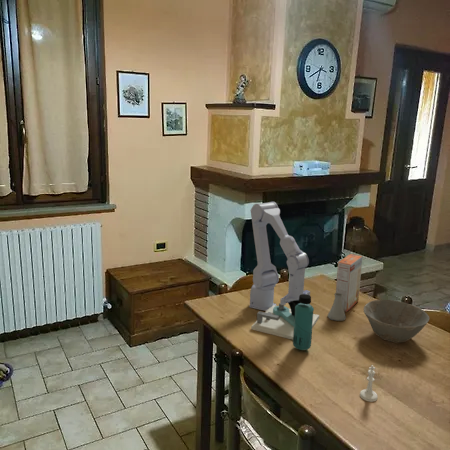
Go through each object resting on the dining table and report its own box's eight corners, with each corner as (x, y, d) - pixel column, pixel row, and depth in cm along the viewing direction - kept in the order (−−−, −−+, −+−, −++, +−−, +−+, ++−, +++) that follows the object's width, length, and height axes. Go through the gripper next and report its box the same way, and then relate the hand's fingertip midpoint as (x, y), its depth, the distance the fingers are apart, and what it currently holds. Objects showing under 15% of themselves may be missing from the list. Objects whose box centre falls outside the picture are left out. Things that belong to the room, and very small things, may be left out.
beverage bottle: (312, 346, 155) (316, 293, 150) (309, 356, 149) (313, 300, 144) (293, 343, 157) (297, 290, 152) (290, 352, 151) (293, 297, 146)
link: (270, 310, 179) (271, 307, 178) (283, 308, 181) (284, 304, 180) (292, 329, 163) (292, 325, 163) (306, 326, 166) (306, 323, 165)
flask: (344, 314, 181) (346, 291, 178) (347, 322, 174) (349, 298, 171) (326, 312, 181) (328, 290, 179) (328, 320, 174) (330, 297, 172)
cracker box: (345, 297, 196) (349, 253, 191) (358, 301, 193) (363, 255, 188) (333, 308, 185) (337, 261, 180) (347, 312, 182) (351, 264, 177)
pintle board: (251, 329, 166) (251, 316, 165) (272, 307, 185) (272, 295, 184) (302, 342, 157) (303, 328, 156) (319, 317, 177) (320, 305, 175)
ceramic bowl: (426, 330, 169) (429, 306, 166) (424, 359, 148) (428, 332, 146) (365, 318, 177) (368, 294, 175) (356, 344, 157) (359, 318, 155)
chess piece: (357, 391, 130) (360, 361, 128) (373, 390, 131) (377, 360, 128) (363, 402, 126) (367, 370, 123) (380, 401, 126) (384, 370, 123)
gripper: (290, 291, 161) (288, 326, 164) (317, 283, 170) (314, 315, 173) (277, 285, 166) (275, 319, 170) (303, 277, 175) (301, 309, 178)
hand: (294, 317), depth 172 cm, fingers closed, pressing on link
